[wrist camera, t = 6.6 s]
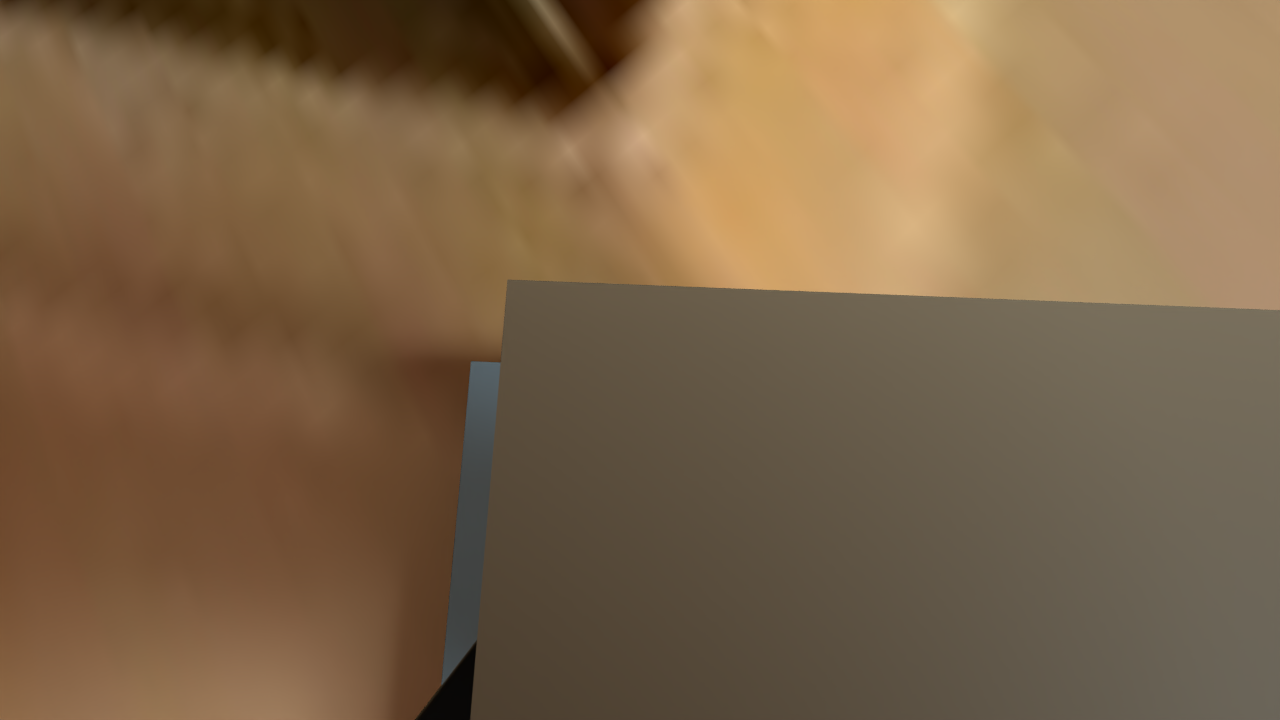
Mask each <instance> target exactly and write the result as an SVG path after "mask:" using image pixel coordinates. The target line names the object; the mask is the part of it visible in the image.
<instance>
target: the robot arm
mask: <svg viewBox="0 0 1280 720" xmlns="http://www.w3.org/2000/svg"><path fill="white" fill-rule="evenodd" d="M476 646H477V640H476V642H475V643H474V644H473V645H472V647H471V648H470V649H469V651H468V652H467V653H466V654H465V656H464V657H463V658H462V660H461V661H460V662H459V663H458V665H457V666H456V667H455V669H454V670H453V671H452V673H451V674H450V675H449V676H448V678H447V679H446V680H445V682H444V683H443V684H442V685H441V687H440V688H439V689H438V691H437V692H436V693H435V694H434V696H433V697H432V698H431V700H430V701H429V702H428V704H427V705H426V706H425V707H424V709H423V710H422V711H421V713H420V714H419V715H418V716H417V718H416V719H415V720H470V716H471V704H472V693H473V681H474V669H475V657H476Z"/></svg>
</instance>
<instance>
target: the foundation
mask: <svg viewBox="0 0 1280 720" xmlns="http://www.w3.org/2000/svg"><path fill="white" fill-rule="evenodd" d="M500 364H501V363H500V362H475V361H471V368H470V378H469V389H468V400H467V411H466V422H465V433H464V444H463V455H462V465H461V476H460V487H459V498H458V509H457V520H456V531H455V542H454V552H453V563H452V574H451V585H450V596H449V607H448V618H447V629H446V639H445V650H444V661H443V672H442V683H441V685H442V684H443V683H444V682H445V680H446V679H447V678H448V676H449V675H450V674H451V673H452V671H453V670H454V669H455V667H456V666H457V665H458V663H459V662H460V661H461V660H462V658H463V657H464V656H465V654H466V653H467V652H468V651H469V649H470V648H471V647H472V645H473V644H474V643H475V642H476V640H477V634H478V622H479V610H480V599H481V587H482V575H483V563H484V552H485V540H486V528H487V516H488V505H489V493H490V481H491V469H492V458H493V446H494V434H495V422H496V411H497V399H498V387H499V375H500Z"/></svg>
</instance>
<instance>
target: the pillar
mask: <svg viewBox="0 0 1280 720" xmlns="http://www.w3.org/2000/svg"><path fill="white" fill-rule="evenodd" d="M470 720H1280V310H1260V309H1235V308H1209V307H1184V306H1159V305H1134V304H1109V303H1083V302H1058V301H1033V300H1008V299H982V298H957V297H932V296H907V295H881V294H856V293H831V292H806V291H780V290H755V289H730V288H705V287H680V286H654V285H629V284H604V283H579V282H553V281H528V280H508V281H507V293H506V305H505V316H504V328H503V340H502V352H501V364H500V375H499V387H498V399H497V411H496V422H495V434H494V446H493V458H492V469H491V481H490V493H489V505H488V516H487V528H486V540H485V552H484V563H483V575H482V587H481V599H480V610H479V622H478V634H477V646H476V657H475V669H474V681H473V693H472V704H471V716H470Z"/></svg>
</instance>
